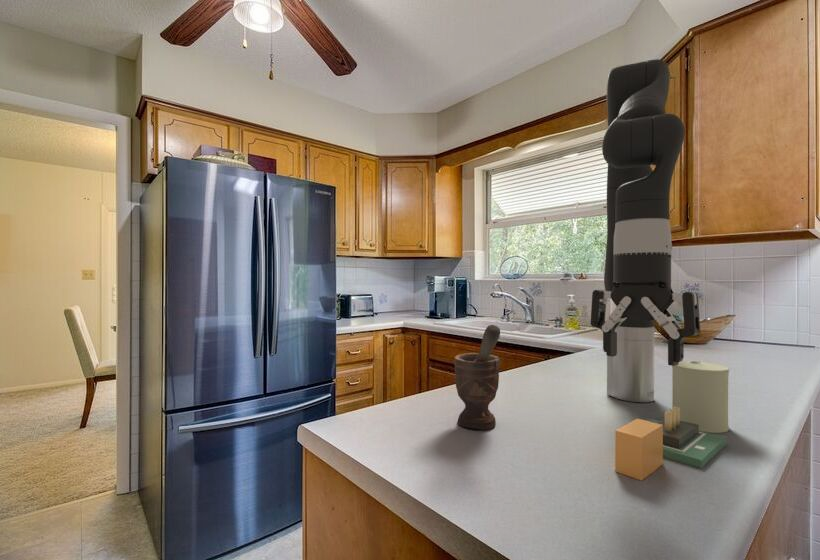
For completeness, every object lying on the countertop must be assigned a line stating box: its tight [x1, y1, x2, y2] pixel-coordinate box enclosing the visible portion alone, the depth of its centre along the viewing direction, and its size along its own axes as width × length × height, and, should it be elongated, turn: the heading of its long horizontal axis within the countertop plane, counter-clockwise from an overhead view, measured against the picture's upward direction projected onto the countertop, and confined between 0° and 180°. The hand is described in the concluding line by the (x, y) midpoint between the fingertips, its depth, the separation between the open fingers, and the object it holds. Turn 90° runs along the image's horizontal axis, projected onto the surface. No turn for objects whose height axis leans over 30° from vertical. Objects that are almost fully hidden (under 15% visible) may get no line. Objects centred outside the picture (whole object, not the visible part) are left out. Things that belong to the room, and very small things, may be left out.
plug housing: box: [614, 418, 664, 481], centre depth 61 cm, size 4×8×6 cm, turn 130°
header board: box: [646, 407, 727, 469], centre depth 70 cm, size 12×14×6 cm
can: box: [671, 360, 730, 434], centre depth 79 cm, size 9×9×12 cm
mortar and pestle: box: [454, 324, 501, 431], centre depth 77 cm, size 12×9×20 cm
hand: (641, 360), depth 61 cm, fingers open, 8 cm apart
